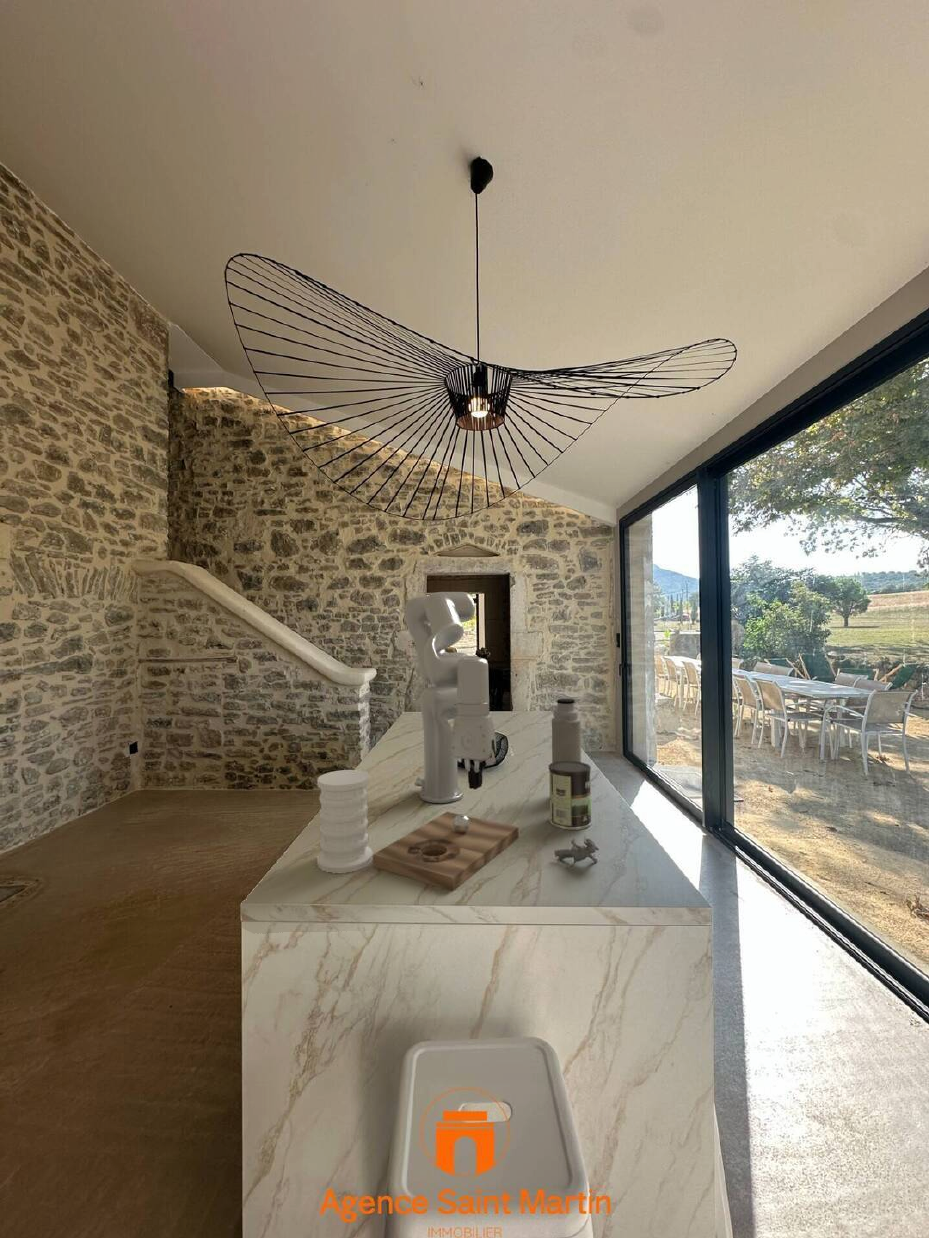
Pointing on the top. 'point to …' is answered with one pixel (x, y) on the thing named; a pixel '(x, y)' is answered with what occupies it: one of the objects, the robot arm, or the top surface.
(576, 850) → the grey toy figure
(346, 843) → the decorative container
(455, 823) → the ball
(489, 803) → the top surface
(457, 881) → the deck
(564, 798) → the coffee can
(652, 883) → the top surface
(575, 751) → the thermos bottle
